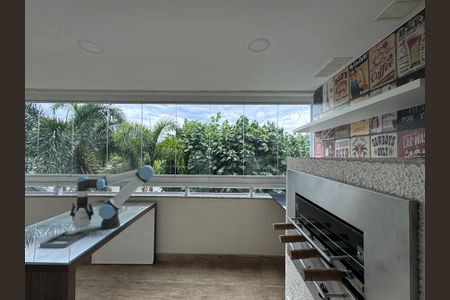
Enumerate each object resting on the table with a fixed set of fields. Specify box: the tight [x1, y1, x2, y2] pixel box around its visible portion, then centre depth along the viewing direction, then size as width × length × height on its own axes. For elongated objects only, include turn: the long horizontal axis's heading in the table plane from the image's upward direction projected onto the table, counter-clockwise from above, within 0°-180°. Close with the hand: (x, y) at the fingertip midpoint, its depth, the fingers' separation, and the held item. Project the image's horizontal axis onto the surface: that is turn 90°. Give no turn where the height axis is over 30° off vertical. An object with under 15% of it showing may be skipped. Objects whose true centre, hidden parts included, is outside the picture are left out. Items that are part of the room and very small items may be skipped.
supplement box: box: [74, 209, 90, 229], centre depth 185 cm, size 7×7×13 cm
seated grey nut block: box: [64, 230, 79, 237], centre depth 171 cm, size 6×6×4 cm
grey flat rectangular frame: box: [39, 230, 89, 249], centre depth 165 cm, size 27×16×2 cm, turn 3°
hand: (81, 224), depth 185 cm, fingers closed on supplement box, 10 cm apart
